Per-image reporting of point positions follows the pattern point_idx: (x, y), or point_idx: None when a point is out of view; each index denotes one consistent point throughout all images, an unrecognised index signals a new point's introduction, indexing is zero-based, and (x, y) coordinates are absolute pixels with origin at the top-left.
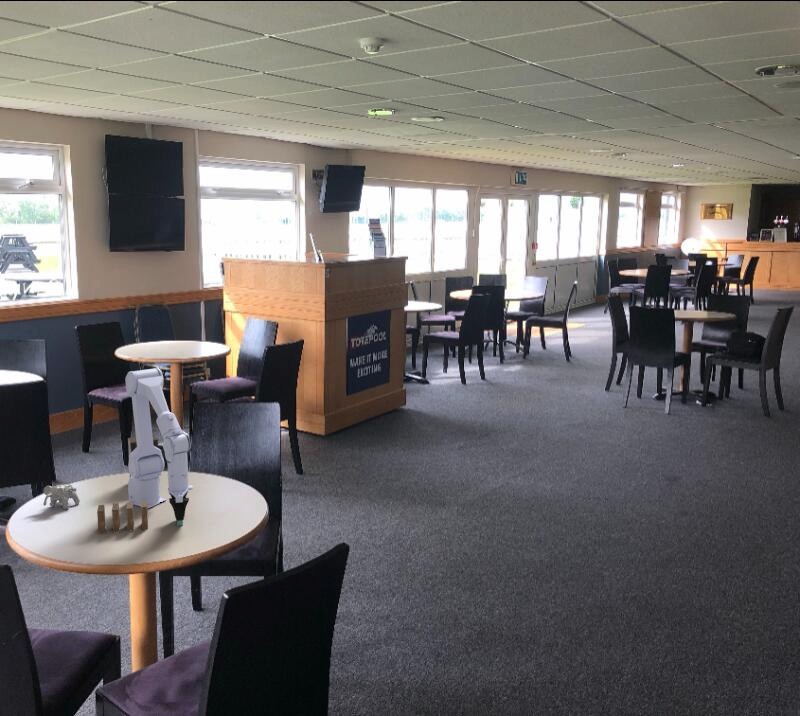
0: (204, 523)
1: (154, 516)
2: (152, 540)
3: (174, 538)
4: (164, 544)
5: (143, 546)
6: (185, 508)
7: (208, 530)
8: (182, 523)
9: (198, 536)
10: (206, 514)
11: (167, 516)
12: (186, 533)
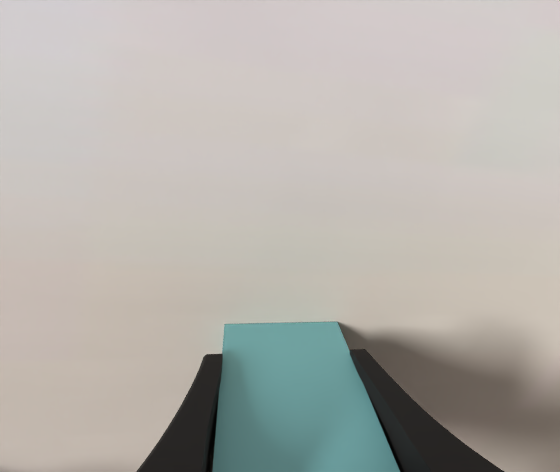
0: (360, 185)
1: (143, 454)
2: (458, 437)
3: (494, 358)
4: (533, 394)
5: (498, 458)
6: (448, 431)
7: (501, 167)
8: (341, 333)
9: (552, 240)
10: (168, 152)
11: (156, 400)
12: (466, 304)
